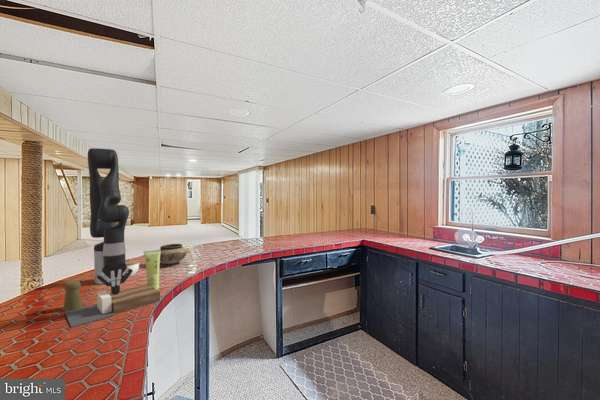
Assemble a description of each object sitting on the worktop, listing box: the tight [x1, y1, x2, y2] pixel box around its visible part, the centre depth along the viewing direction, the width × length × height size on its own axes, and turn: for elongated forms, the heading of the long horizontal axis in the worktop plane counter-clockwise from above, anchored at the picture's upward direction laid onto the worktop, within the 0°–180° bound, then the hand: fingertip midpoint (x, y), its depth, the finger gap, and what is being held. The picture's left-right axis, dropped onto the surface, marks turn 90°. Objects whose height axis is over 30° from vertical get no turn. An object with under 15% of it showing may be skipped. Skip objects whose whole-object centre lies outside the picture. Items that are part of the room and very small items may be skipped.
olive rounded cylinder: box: [62, 280, 83, 312], centre depth 109 cm, size 6×6×11 cm
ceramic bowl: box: [152, 243, 192, 267], centre depth 175 cm, size 24×18×15 cm
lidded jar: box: [121, 258, 140, 277], centre depth 153 cm, size 11×11×9 cm
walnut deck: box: [108, 284, 161, 315], centre depth 114 cm, size 14×17×4 cm
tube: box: [143, 249, 161, 290], centre depth 130 cm, size 6×5×20 cm
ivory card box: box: [96, 290, 112, 314], centre depth 107 cm, size 9×6×3 cm
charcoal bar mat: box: [64, 303, 116, 329], centre depth 103 cm, size 17×13×1 cm
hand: (115, 294), depth 110 cm, fingers closed
